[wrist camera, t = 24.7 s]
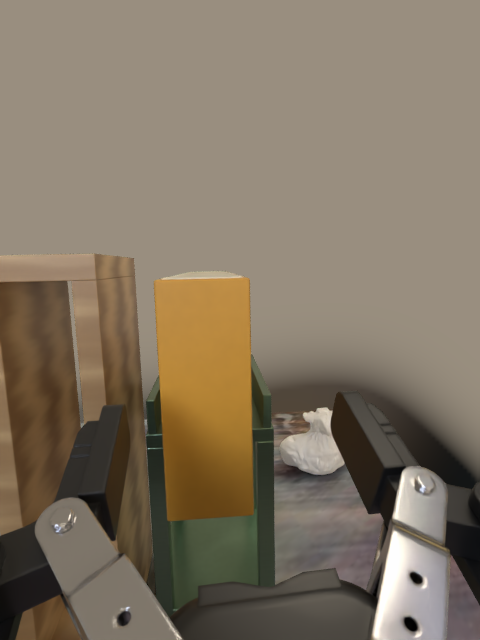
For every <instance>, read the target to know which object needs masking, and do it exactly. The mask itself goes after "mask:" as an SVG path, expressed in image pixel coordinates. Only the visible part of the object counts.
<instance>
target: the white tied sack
mask: <svg viewBox="0 0 480 640" xmlns="http://www.w3.org/2000/svg"><path fill="white" fill-rule="evenodd" d="M332 412H333V411H329V409H328V408H327V407H326V408H317V410H316V412H315V413H314V412H313V411H310V412H309V413H303V418H304V419H305V421H307V422H310V424H311V428H310V430H309V431H308V432H306V433H305V434H298V435H292V436H289V437H287V438H286V439H285V440H283V441H282V442H281V444H280V454H281V457H282V459H283V461H284V462H285V463H286V464H287V465H290V466H296V467H298V468H299V469H300V470H302V471H305V472H308V473H311V474H313V475H325V474H329V473H333V472H334V471H336V469H337V468H340V467H341V466H343V465H344V460H343V458H342V456H341V454H340V452H339V449H338V447H337V445H336V443H335V441H334V439H333V436H332V433H331V427H330V422H331V416H332Z"/></svg>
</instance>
